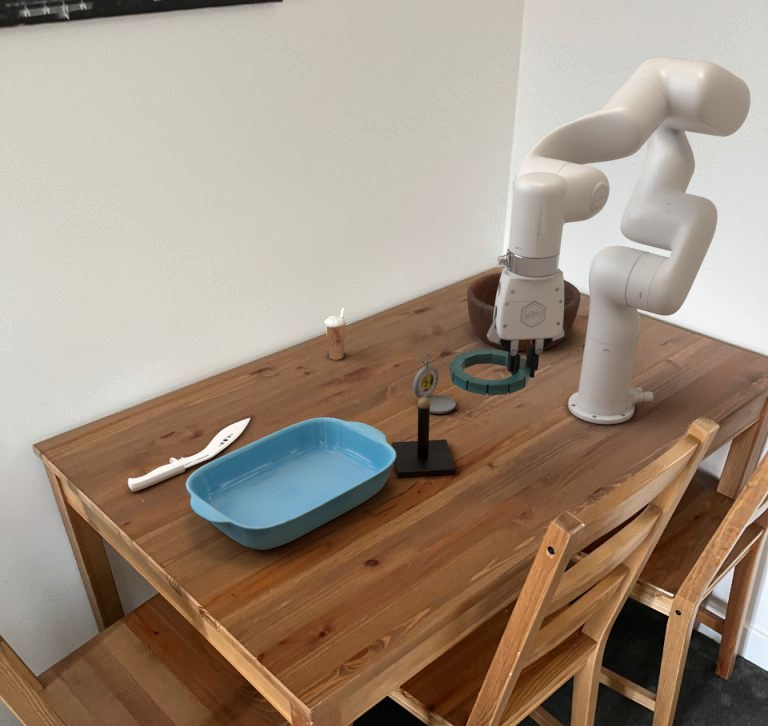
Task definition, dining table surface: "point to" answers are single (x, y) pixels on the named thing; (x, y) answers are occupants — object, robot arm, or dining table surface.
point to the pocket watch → (431, 389)
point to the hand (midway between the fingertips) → (521, 373)
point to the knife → (189, 458)
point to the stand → (423, 450)
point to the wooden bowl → (483, 304)
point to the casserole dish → (291, 481)
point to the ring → (485, 385)
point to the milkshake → (335, 336)
